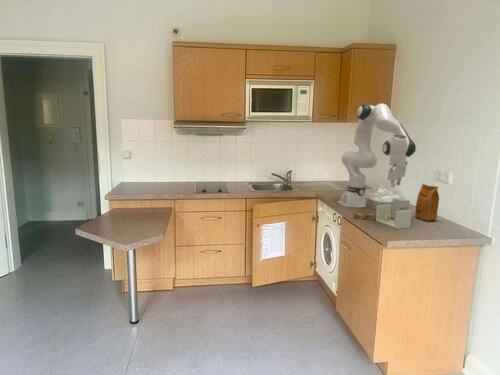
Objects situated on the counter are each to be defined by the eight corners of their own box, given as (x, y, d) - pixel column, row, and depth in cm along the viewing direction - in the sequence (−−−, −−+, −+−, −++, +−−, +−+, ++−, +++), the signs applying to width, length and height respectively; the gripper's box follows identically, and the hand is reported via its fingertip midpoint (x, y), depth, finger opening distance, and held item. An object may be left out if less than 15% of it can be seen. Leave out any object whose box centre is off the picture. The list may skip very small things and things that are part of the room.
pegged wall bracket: (375, 220, 221) (376, 205, 219) (388, 219, 224) (389, 204, 223) (396, 228, 204) (398, 211, 203) (410, 227, 208) (411, 210, 206)
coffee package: (423, 215, 236) (427, 183, 232) (439, 220, 225) (443, 186, 221) (411, 216, 233) (415, 183, 229) (427, 221, 221) (431, 186, 217)
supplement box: (398, 220, 223) (400, 200, 221) (390, 217, 230) (392, 198, 228) (408, 219, 225) (410, 200, 223) (400, 216, 232) (402, 197, 230)
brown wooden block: (356, 220, 221) (356, 215, 221) (353, 218, 226) (354, 213, 226) (377, 221, 222) (378, 215, 221) (374, 219, 227) (375, 213, 226)
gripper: (397, 164, 199) (395, 189, 201) (408, 162, 214) (406, 184, 217) (385, 164, 202) (383, 187, 205) (397, 161, 218) (395, 183, 220)
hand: (395, 186), depth 211 cm, fingers open, 8 cm apart
